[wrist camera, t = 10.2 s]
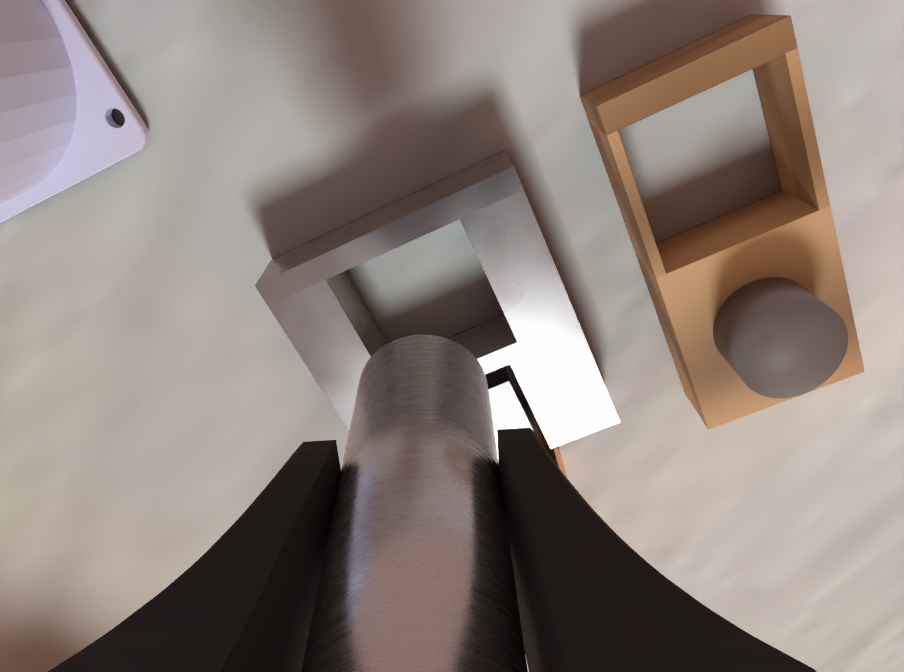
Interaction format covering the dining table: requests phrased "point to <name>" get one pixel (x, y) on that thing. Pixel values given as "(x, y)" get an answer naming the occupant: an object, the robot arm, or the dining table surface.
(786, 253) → the frame
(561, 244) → the dining table surface
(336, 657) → the metallic rounded cylinder
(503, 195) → the socket block
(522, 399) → the drift key
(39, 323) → the dining table surface
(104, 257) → the dining table surface
